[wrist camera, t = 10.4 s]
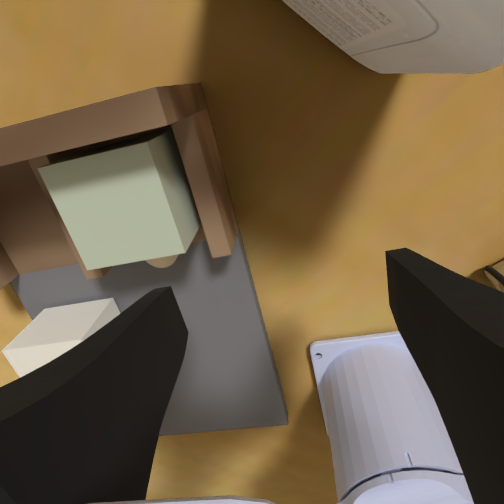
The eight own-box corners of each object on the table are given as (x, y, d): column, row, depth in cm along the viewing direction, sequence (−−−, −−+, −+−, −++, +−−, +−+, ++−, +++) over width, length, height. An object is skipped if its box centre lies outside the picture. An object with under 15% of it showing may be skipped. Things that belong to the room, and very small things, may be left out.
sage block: (211, 249, 20) (196, 286, 17) (132, 263, 21) (102, 301, 18) (174, 128, 18) (146, 141, 14) (84, 150, 18) (37, 168, 15)
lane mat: (288, 413, 28) (288, 424, 27) (110, 429, 30) (105, 440, 29) (239, 228, 21) (237, 234, 20) (16, 269, 24) (6, 277, 23)
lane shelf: (239, 228, 21) (220, 292, 15) (16, 269, 24) (-79, 339, 17) (200, 82, 18) (155, 86, 11) (-54, 149, 20) (-203, 182, 14)
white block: (169, 417, 27) (147, 485, 23) (111, 423, 28) (78, 489, 24) (113, 297, 23) (71, 352, 18) (44, 308, 23) (-12, 363, 19)
